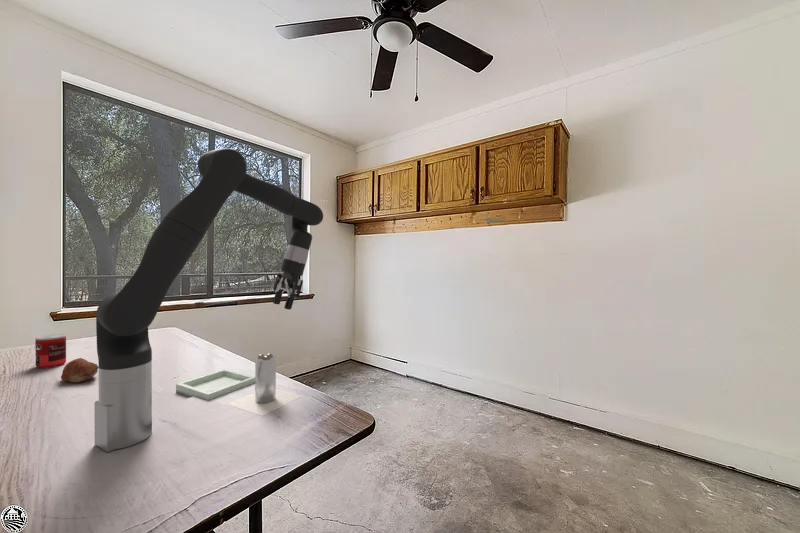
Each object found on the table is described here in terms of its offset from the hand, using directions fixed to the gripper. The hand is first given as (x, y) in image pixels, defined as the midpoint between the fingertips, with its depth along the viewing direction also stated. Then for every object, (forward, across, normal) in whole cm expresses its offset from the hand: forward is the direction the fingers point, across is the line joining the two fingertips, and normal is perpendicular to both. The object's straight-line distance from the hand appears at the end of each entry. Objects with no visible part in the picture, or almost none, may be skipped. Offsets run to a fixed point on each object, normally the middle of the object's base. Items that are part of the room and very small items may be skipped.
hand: (281, 306), depth 111 cm
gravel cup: (+25, +16, -5) cm, 30 cm away
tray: (+29, -5, -11) cm, 32 cm away
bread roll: (+40, -43, -40) cm, 71 cm away
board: (+26, +16, -5) cm, 31 cm away
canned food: (+44, -70, -46) cm, 95 cm away
